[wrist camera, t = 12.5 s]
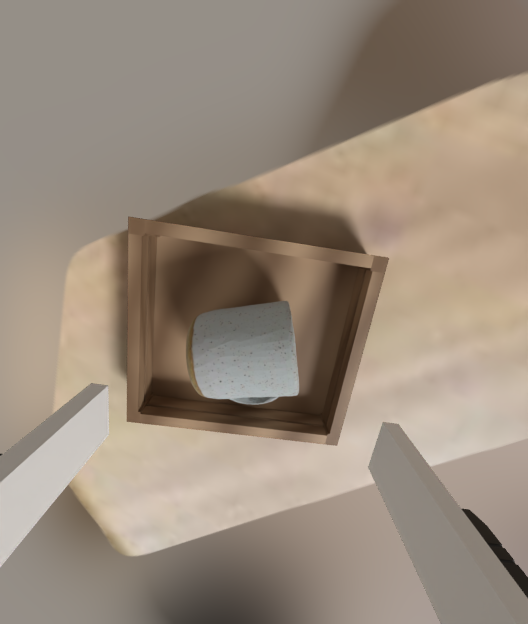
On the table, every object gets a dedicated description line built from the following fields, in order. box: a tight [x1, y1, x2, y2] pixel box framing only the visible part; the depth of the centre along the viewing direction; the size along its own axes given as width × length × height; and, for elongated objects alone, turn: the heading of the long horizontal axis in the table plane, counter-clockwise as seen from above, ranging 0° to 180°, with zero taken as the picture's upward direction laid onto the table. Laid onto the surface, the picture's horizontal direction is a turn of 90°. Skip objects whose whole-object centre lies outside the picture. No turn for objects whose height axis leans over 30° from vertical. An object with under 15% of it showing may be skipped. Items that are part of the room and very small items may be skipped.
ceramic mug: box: [186, 301, 299, 405], centre depth 21 cm, size 11×8×8 cm
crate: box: [127, 217, 389, 446], centre depth 23 cm, size 20×18×4 cm
